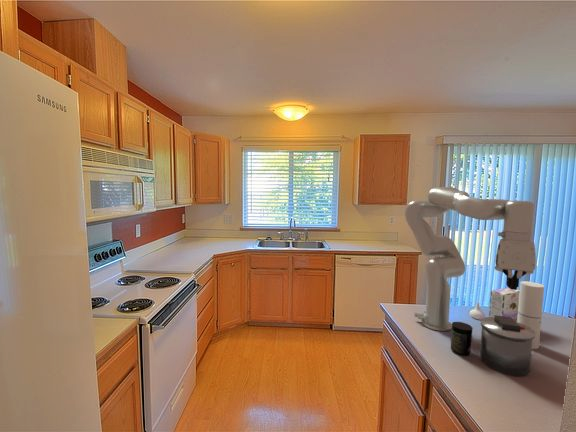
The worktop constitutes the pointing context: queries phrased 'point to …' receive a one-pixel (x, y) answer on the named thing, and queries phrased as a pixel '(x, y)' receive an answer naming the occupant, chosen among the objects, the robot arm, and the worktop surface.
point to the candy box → (504, 303)
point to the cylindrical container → (531, 308)
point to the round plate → (507, 327)
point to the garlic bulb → (477, 312)
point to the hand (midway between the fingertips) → (512, 288)
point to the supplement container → (461, 338)
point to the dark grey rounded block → (505, 354)
